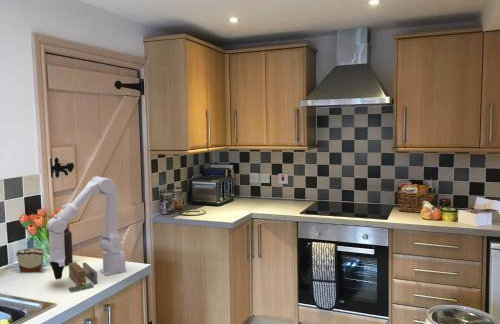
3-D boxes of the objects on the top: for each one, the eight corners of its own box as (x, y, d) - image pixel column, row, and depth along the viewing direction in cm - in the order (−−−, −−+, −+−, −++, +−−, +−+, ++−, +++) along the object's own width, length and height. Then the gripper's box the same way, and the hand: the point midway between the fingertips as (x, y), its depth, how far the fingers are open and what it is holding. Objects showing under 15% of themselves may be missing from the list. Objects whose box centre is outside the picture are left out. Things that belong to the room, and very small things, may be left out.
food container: (50, 268, 199) (49, 247, 198) (44, 272, 193) (43, 251, 192) (23, 268, 199) (22, 247, 198) (16, 273, 193) (15, 251, 192)
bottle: (54, 264, 204) (52, 223, 202) (66, 260, 210) (65, 221, 208) (63, 267, 201) (61, 225, 199) (75, 263, 206) (74, 222, 205)
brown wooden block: (76, 275, 189) (75, 262, 189) (88, 287, 176) (88, 273, 175) (69, 276, 188) (68, 263, 187) (81, 288, 174) (80, 274, 173)
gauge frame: (85, 273, 193) (85, 262, 192) (99, 286, 178) (99, 274, 177) (58, 278, 186) (58, 267, 185) (71, 292, 171) (70, 280, 170)
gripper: (42, 244, 180) (43, 275, 181) (50, 252, 169) (52, 286, 170) (60, 241, 184) (61, 272, 186) (69, 249, 173) (70, 282, 174)
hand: (58, 278), depth 178 cm, fingers closed
